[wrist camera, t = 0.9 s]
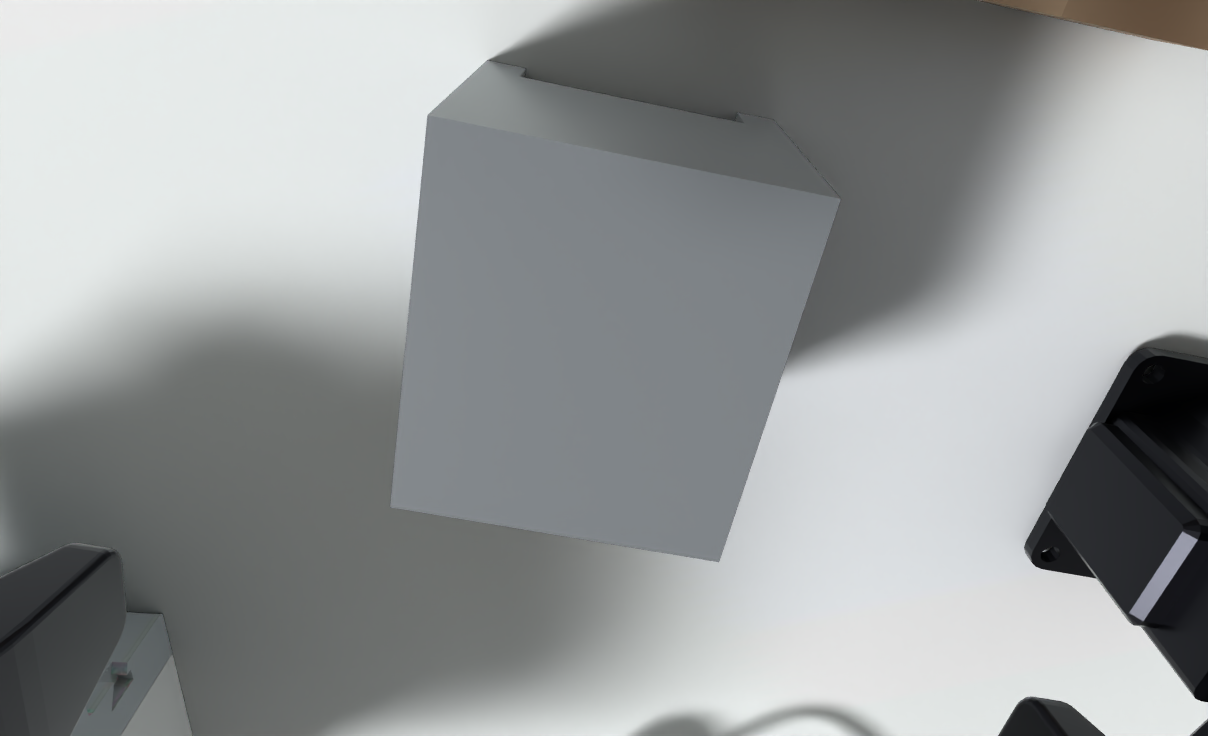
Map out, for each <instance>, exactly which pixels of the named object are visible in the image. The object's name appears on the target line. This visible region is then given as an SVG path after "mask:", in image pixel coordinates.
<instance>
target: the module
mask: <svg viewBox="0 0 1208 736" xmlns="http://www.w3.org/2000/svg"><path fill="white" fill-rule="evenodd" d="M525 71H526V68H522V67H518V66H513V65H508V64H503V63H498V62H494V61H489V60H487V61H486V62H485V63H484V64H483V65H482V66H481V67H479V68H478V69H477V70H476V71H475V72H474V73H473V74H472V75H471V76H470V77H469V78H467V79H466V80H465V81H464V82H463V83H462V84H461V85H460V86H459V87H458V88H457V89H455V90H454V91H453V92H452V93H451V94H450V95H449V96H448V97H447V98H446V99H445V100H444V101H442V102H441V103H440V104H439V105H438V106H437V107H436V108H435V109H434V110H433V111H432V112H430V113H429V114H428V116H427V126H426V137H425V147H424V158H423V168H422V179H421V189H420V200H419V210H418V220H417V231H416V241H415V252H414V262H413V273H412V283H411V294H410V304H409V315H408V325H407V335H406V346H405V356H404V367H403V377H402V388H401V398H400V409H399V419H398V430H397V440H396V451H395V461H394V471H393V482H392V492H391V503H390V507H391V508H397V509H403V510H409V511H415V512H421V513H427V514H433V515H439V516H445V517H451V518H457V519H463V520H469V521H475V522H481V523H487V524H493V525H499V526H505V527H511V528H517V529H523V530H529V531H535V532H541V533H547V534H553V535H559V536H565V537H571V538H577V539H583V540H589V541H595V542H601V543H607V544H613V545H619V546H625V547H631V548H637V549H643V550H649V551H655V552H661V553H667V554H673V555H679V556H685V557H691V558H697V559H703V560H709V561H715V562H719V561H720V558H721V555H722V552H723V549H724V546H725V543H726V540H727V537H728V534H729V531H730V528H731V525H732V522H733V519H734V516H735V513H736V510H737V507H738V504H739V501H740V498H741V495H742V492H743V489H744V486H745V483H746V480H747V477H748V474H749V471H750V469H751V466H752V463H753V460H754V457H755V454H756V451H757V448H758V445H759V442H760V439H761V436H762V433H763V430H764V427H765V424H766V421H767V418H768V415H769V412H770V409H771V406H772V403H773V400H774V397H775V394H776V391H777V388H778V385H779V382H780V379H781V376H782V373H783V370H784V367H785V364H786V361H787V358H788V356H789V353H790V350H791V347H792V344H793V341H794V338H795V335H796V332H797V329H798V326H799V323H800V320H801V317H802V314H803V311H804V308H805V305H806V302H807V299H808V296H809V293H810V290H811V287H812V284H813V281H814V278H815V275H816V272H817V269H818V266H819V263H820V260H821V257H822V254H823V251H824V248H825V246H826V243H827V240H828V237H829V234H830V231H831V228H832V225H833V222H834V219H835V216H836V213H837V210H838V207H839V204H840V201H841V198H840V197H839V196H838V195H837V193H836V192H835V191H834V190H833V189H832V188H831V186H830V185H829V184H828V183H827V182H826V181H825V179H824V178H823V177H822V176H821V175H820V174H819V172H818V171H817V170H816V169H815V168H814V166H813V165H812V164H811V163H810V162H809V161H808V159H807V158H806V157H805V156H804V155H803V154H802V152H801V151H800V150H799V149H798V148H797V147H796V145H795V144H794V143H793V142H792V141H791V140H790V138H789V137H788V136H787V135H786V134H785V132H784V131H783V130H782V129H781V128H780V127H779V125H778V124H777V123H776V122H775V121H774V120H772V119H767V118H762V117H757V116H752V115H748V114H743V113H738V112H737V115H736V119H735V121H731V120H726V119H721V118H716V117H712V116H707V115H702V114H697V113H692V112H687V111H683V110H678V109H673V108H668V107H663V106H659V105H654V104H649V103H644V102H639V101H635V100H630V99H625V98H620V97H615V96H610V95H606V94H601V93H596V92H591V91H586V90H582V89H577V88H572V87H567V86H562V85H558V84H553V83H548V82H543V81H538V80H534V79H529V78H524V77H525Z"/></svg>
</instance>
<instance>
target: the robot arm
mask: <svg viewBox="0 0 1208 736" xmlns="http://www.w3.org/2000/svg"><path fill="white" fill-rule="evenodd" d="M1152 365H1155V367H1154V369H1153V370H1152V371H1151V372H1150V373H1149V374H1147V375H1145V376H1142V375H1143V372H1144V371H1145V370H1146V369H1147V368H1148V367H1150V366H1152ZM1049 547H1052V548H1051V549H1050V550H1048V551H1046V552H1043V551H1044V550H1045V549H1047V548H1049ZM1024 549H1025V553H1026V554H1027V556H1028V557H1029V559H1030V560H1031V562H1032V563H1033V564H1034V565H1035V566H1036V567H1038V568H1041V569H1045V570H1051V571H1057V572H1062V573H1068V574H1074V575H1080V576H1086V577H1092V578H1097V580H1098V581H1099V582H1100V584H1101V585H1102V586H1103V588H1104V589H1105V590H1106V592H1107V593H1108V594H1109V596H1110V597H1111V598H1112V600H1113V601H1114V602H1115V604H1116V605H1117V606H1118V608H1119V609H1120V610H1121V612H1122V613H1123V614H1124V616H1125V617H1126V619H1127V620H1128V621H1129V622H1130V623H1131V624H1133V625H1136V626H1141V627H1142V629H1143V630H1144V631H1145V633H1146V634H1147V635H1148V637H1149V638H1150V639H1151V641H1152V642H1153V643H1154V645H1155V646H1156V647H1157V649H1158V650H1159V651H1160V652H1161V654H1162V655H1163V656H1164V658H1165V659H1166V660H1167V662H1168V663H1169V664H1170V666H1171V667H1172V668H1173V670H1174V671H1175V672H1176V674H1177V675H1178V676H1179V678H1180V679H1181V680H1182V682H1183V683H1184V684H1185V685H1186V687H1187V688H1188V689H1189V691H1190V692H1191V693H1192V695H1193V696H1194V697H1195V699H1197V700H1200V701H1203V702H1208V358H1203V357H1197V356H1192V355H1187V354H1182V353H1177V352H1172V351H1166V350H1161V349H1156V348H1145V349H1142V350H1138V351H1136V352H1135V353H1133V354H1132V355H1131V356H1129V358H1128V359H1127V360H1126V361H1125V363H1124V364H1123V366H1122V368H1121V370H1120V372H1119V373H1118V375H1117V377H1116V379H1115V381H1114V382H1113V384H1112V386H1111V388H1110V390H1109V392H1108V393H1107V395H1106V397H1105V399H1104V401H1103V402H1102V404H1101V406H1100V408H1099V410H1098V412H1097V413H1096V415H1095V417H1094V419H1093V421H1092V423H1091V424H1090V426H1089V428H1088V429H1087V431H1086V432H1085V434H1084V436H1083V438H1082V440H1081V442H1080V443H1079V445H1078V447H1077V449H1076V451H1075V453H1074V454H1073V456H1072V458H1071V460H1070V462H1069V463H1068V465H1067V467H1066V469H1065V471H1064V473H1063V474H1062V476H1061V478H1060V480H1059V482H1058V483H1057V485H1056V487H1055V489H1054V491H1053V493H1052V494H1051V496H1050V498H1049V500H1048V502H1047V503H1046V506H1045V508H1044V510H1043V512H1042V513H1041V515H1040V517H1039V519H1038V521H1037V523H1036V524H1035V526H1034V528H1033V530H1032V532H1031V533H1030V535H1029V537H1028V539H1027V541H1026V543H1025V547H1024ZM126 616H127V608H126V597H125V587H124V577H123V566H122V560H121V556H120V555H119V553H118V552H117V551H116V550H114V549H112V548H108V547H102V546H96V545H89V544H83V543H71V544H67V545H65V546H62V547H60V548H58V549H56V550H54V551H52V552H50V553H48V554H46V555H44V556H42V557H40V558H38V559H36V560H34V561H31V562H29V563H27V564H25V565H23V566H21V567H19V568H17V569H15V570H13V571H11V572H9V573H7V574H5V575H3V576H1V577H0V736H71V734H72V732H73V730H74V729H75V727H76V725H77V723H78V721H79V719H80V717H81V715H82V713H83V711H84V709H85V707H86V705H87V703H88V701H89V699H90V697H91V695H92V693H93V691H94V689H95V687H96V685H97V683H98V681H99V679H100V678H101V676H102V674H103V672H104V670H105V668H106V666H107V664H108V662H109V660H110V658H111V656H112V654H113V652H114V650H115V648H116V646H117V644H118V642H119V640H120V638H121V636H122V633H123V630H124V627H125V623H126ZM998 736H1105V735H1104V734H1103V733H1102V732H1101V731H1100V730H1098V729H1097V728H1096V727H1095V726H1094V725H1093V724H1092V723H1090V722H1089V721H1088V720H1087V719H1086V718H1085V717H1084V716H1082V715H1081V714H1080V713H1079V712H1078V711H1077V710H1076V709H1074V708H1073V707H1072V706H1070V705H1069V704H1067V703H1064V702H1061V701H1056V700H1050V699H1044V698H1038V697H1026V698H1024V699H1023V700H1021V701H1020V702H1019V703H1018V704H1017V705H1016V707H1015V709H1014V710H1013V712H1012V714H1011V715H1010V717H1009V719H1008V720H1007V722H1006V723H1005V725H1004V727H1003V728H1002V730H1001V732H1000V733H999V735H998ZM1190 736H1208V719H1207V720H1206V721H1205V722H1204V723H1203V724H1202V725H1201V726H1199V727H1198V728H1197V729H1196V730H1195V731H1194V732H1193V733H1192V734H1191V735H1190Z"/></svg>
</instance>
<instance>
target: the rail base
mask: <svg viewBox="0 0 1208 736" xmlns="http://www.w3.org/2000/svg"><path fill="white" fill-rule="evenodd" d="M977 1H981V2H986V3H990V4H995V5H999V6H1004V7H1008V8H1013V9H1017V10H1021V11H1026V12H1030V13H1035V14H1039V15H1044V16H1048V17H1053V18H1057V19H1062V20H1066V21H1071V22H1075V23H1079V24H1084V25H1088V26H1093V27H1097V28H1102V29H1106V30H1111V31H1115V32H1120V33H1124V34H1129V35H1133V36H1137V37H1142V38H1146V39H1151V40H1156V41H1161V42H1166V43H1172V44H1177V45H1182V46H1187V47H1193V48H1198V49H1203V50H1208V0H977Z"/></svg>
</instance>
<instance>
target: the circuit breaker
mask: <svg viewBox="0 0 1208 736" xmlns="http://www.w3.org/2000/svg"><path fill="white" fill-rule="evenodd" d="M71 736H193V735H192V731H191V727H190V723H189V719H188V715H187V711H186V706H185V702H184V698H183V694H182V690H181V686H180V682H179V678H178V674H177V670H176V666H175V662H174V657H173V653H172V649H171V645H170V641H169V637H168V633H167V629H166V625H165V621H164V617H163V614H149V613H132V612H127V616H126V623H125V627H124V630H123V633H122V636H121V638H120V640H119V642H118V644H117V646H116V648H115V650H114V652H113V654H112V656H111V658H110V660H109V662H108V664H107V666H106V668H105V670H104V672H103V674H102V676H101V678H100V679H99V681H98V683H97V685H96V687H95V689H94V691H93V693H92V695H91V697H90V699H89V701H88V703H87V705H86V707H85V709H84V711H83V713H82V715H81V717H80V719H79V721H78V723H77V725H76V727H75V729H74V730H73V732H72V734H71Z"/></svg>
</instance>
